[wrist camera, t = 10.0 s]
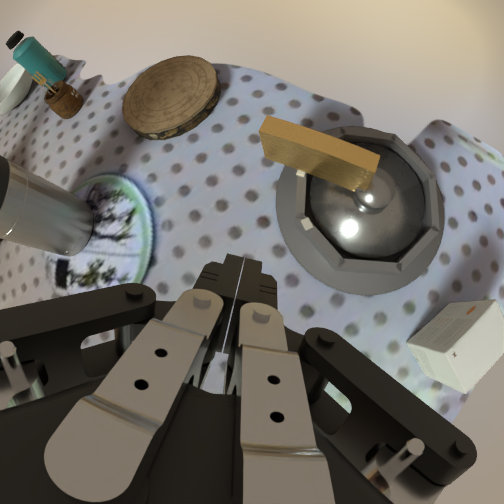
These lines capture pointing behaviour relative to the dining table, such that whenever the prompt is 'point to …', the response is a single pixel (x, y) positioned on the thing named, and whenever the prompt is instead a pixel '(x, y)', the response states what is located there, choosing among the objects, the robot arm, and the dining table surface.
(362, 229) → the dial
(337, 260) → the dial housing
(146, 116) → the wooden log slice
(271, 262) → the dining table surface
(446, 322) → the small box
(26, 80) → the cereal bowl
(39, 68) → the beverage bottle
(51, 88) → the utensil holder
